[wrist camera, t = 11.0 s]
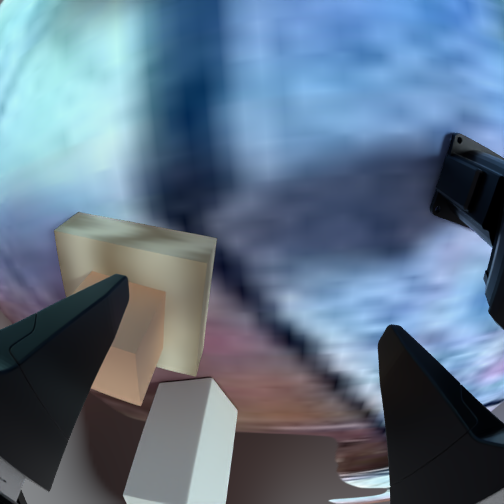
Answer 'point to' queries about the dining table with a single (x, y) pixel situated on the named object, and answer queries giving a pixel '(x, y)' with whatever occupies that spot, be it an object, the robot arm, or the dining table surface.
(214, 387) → the milk carton
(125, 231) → the birch block
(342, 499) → the dining table surface
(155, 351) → the tan cube
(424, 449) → the robot arm
